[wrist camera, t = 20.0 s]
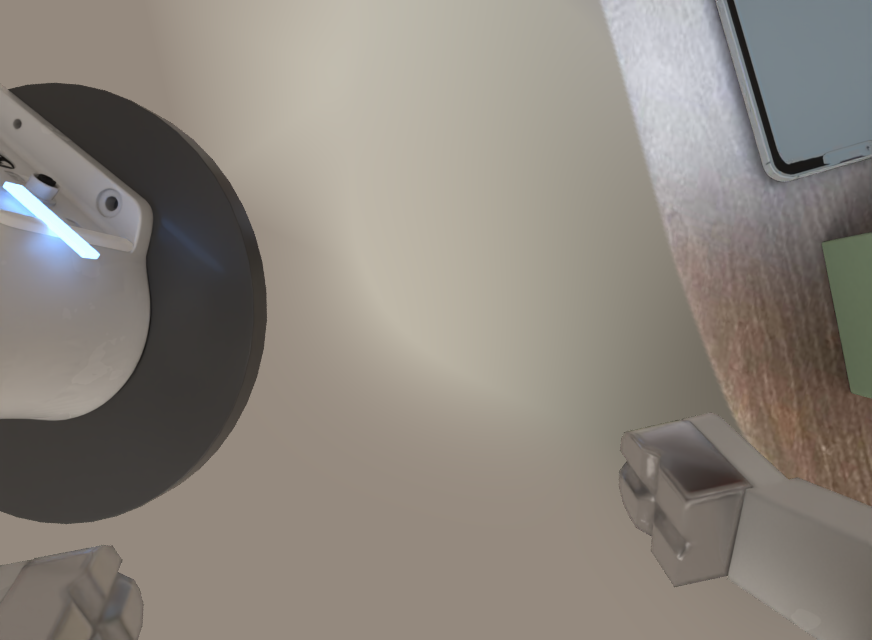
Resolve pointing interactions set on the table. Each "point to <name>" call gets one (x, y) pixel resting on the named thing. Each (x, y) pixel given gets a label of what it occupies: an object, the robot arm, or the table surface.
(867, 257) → the sage green upright box
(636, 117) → the table surface
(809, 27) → the smartphone
